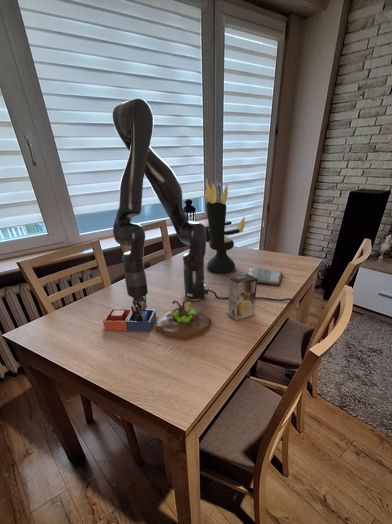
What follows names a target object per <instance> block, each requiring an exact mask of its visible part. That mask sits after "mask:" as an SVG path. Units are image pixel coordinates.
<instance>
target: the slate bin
mask: <svg viewBox="0 0 392 524" xmlns="http://www.w3.org/2000/svg"><path fill="white" fill-rule="evenodd" d="M146 311H148V319H149V321H135V320H134V316H133V313H131V315H130V317H129V318H128V320H127V326H128V332H129V331H130V332H152V329H153V327H154V325H155V321H156V320H157V314H156V313H157V312H156V309H154V308H153V309H152V308H151V309H150V308H146Z"/></svg>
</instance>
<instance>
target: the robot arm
mask: <svg viewBox="0 0 392 524" xmlns="http://www.w3.org/2000/svg"><path fill="white" fill-rule="evenodd" d="M111 118H112V124H113V126H114V130H115V131H116V133H117V135H118V137H119V139H120V140H121V141H122V143H123V144H124V146H125V147H126V148H127V150H128V151H129V154H128V158H127V161H126V164H125V167H124V170H123V173H122V176H121V178H120V182H119V183H120V184H119V197H118V198H119V199H118V201H119V203H118V208H117V212H116V215H115V219H114V223H113V227H112V235H113V239H114V241H115V242H116V243H117V244H119V245H122V246H129V247H130V250H129V251H127V252H124V253H123V254H122V264H123V270H124V280H125V287H126V292H127V295H128V297H131V298H132V305H131V306H130V309H131V310H132V313H133V316H134V319H137V321H143V318H142V312H143V311H146V309H147V307H148V305H147V304H148V303H147V294H148V292H149V289H148V282H147V275H146V271H145V264H144V251H145V244H146V231H145V229H144V228H143V226H142V225H140V224H139V223H135V222H131V221H132V219H133V218H134V217H137V216H139V215H141V213H142V205H143V190H144V189H143V188H144V179H145V178H146V180H147V181H148V183H149V185H150V186H151V189H152V191H153V192H154V194H155V196H156V197H157V199H158V200H159V202H160V205H162V207H163V209H164V211H165V213H166V215H167V216H168V218H169V220H170V222H171V224H172V226H173V229H174V231H175V233H176V236H177V238H178V239H179V240H180V242H181V243H183V244H185V245H187V246H188V245H189V251H188V252H186V253H184V254H183V255H182V265H183V288H184V290H183V291H184V300H188V301H190V302H198V301H204V300H205V295H206V296H207V295H209V293H212V294H214V296H215V298H216V299H219V300H229V296H228V297H220V296H218V294H217V293H216V291H214V290H211V289H209V288H210V287H209V285H206V284H205V255H206V253H207V252H206V251H207V229H206V226H205V225H204V224H203V223H202V222H197V221H192V220H190V218H189V217H188V216H187V213H186V212H185V209H184V206H183V189H182V186H181V184H180V182H179V180H178V178H177V176H176V174H175V172H174V171H173V169H172V168H171V167H170V166H169V164H167V163H166V161H164V160H163V159H162V158H161V157H160V156H159V155H158V154H157V153H156V152H155V151H154V150H153V148H152V147H151V143H152V137H153V132H154V123H155V122H154V115H153V111H152V108H151V106H150V105H149V103H148V102H147V101H146V100H145V99H143V98H140V97H137V98H132V99H129V100H126V101H124V102H121V103H119V104H116V105H115V106H114V108H113V110H112V116H111ZM256 299H257V300H269V301H277V302H284V301H291V302H295V300H294V299H293V298H290V297H288V298H287V297H286V298H283V299H282V298H270V297H263V296H262V297H261V296H256ZM256 299H255V300H256Z"/></svg>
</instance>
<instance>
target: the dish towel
mask: <svg viewBox="0 0 392 524" xmlns="http://www.w3.org/2000/svg"><path fill="white" fill-rule="evenodd" d="M247 274H249V275H251V276H253V277H255V278H257V284H263V285H272V286H279V285H280V282H281V279H282V276H283V271H281V270H271V269H268V268H267V269H266V268H259V267H258V268H254V267H249V269H248V272H247Z"/></svg>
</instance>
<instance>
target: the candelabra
mask: <svg viewBox="0 0 392 524" xmlns="http://www.w3.org/2000/svg"><path fill="white" fill-rule="evenodd" d="M214 183H215V182H212V185H211V187H210V185H209V183H208V182H206V185H205V186H206V188H205V191H204V200H205V212H206V217H207V218H206V219H207V224H208V229H207V232H208V234H209V237H210V241H209V244H208V245H209V247H210V249H212V250H214V251H216V253H215V255H214V256H213V257H212V258H211V259H210V260H208V262H207V264H206V268H207V270H208V271H210V272H212V273H221V274H222V273H223V274H224V273H225V274H226V273H229V272H232V271H234V270H235V268H236V263H235V262H234V260H233V259H232V258H231V257H230V256H229V255H228V254H227V251H229V250H232V249H233V248H234V246H235V242H234V241H233V239H232V238H230V236H232V235H236V234H240V233H244V228H245V227H246V226H245V225H246V218H245V216H243V218H241V220H240V221H239V222H238V224H237V227H236V228H234V229H230V230H225V229H226V218H227V217H226V216H227V204H226V203H227V199H228V193H229V190H228V184H226V185H225V187H224V189H223V191H222V193H221V196H220V199H219V201H220V202H217V189H216V186H215V184H214Z"/></svg>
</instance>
